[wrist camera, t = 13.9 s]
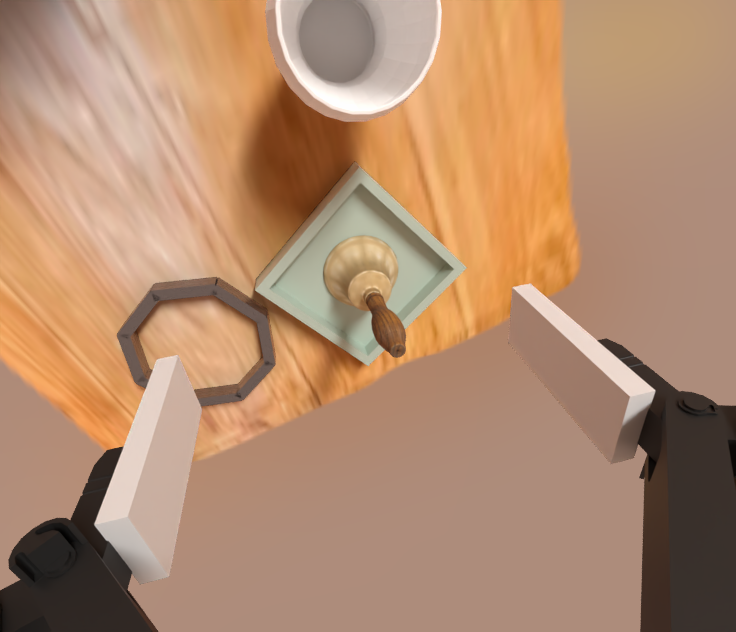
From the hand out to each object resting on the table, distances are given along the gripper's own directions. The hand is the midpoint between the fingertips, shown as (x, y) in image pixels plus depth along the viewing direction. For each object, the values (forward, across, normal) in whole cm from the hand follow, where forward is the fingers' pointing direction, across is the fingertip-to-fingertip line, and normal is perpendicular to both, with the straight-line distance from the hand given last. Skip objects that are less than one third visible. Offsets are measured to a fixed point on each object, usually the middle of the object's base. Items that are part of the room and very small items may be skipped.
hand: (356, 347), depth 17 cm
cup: (+30, +4, +11) cm, 32 cm away
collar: (+29, -15, -16) cm, 37 cm away
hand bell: (+28, +4, -11) cm, 31 cm away
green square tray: (+29, +4, -11) cm, 31 cm away
